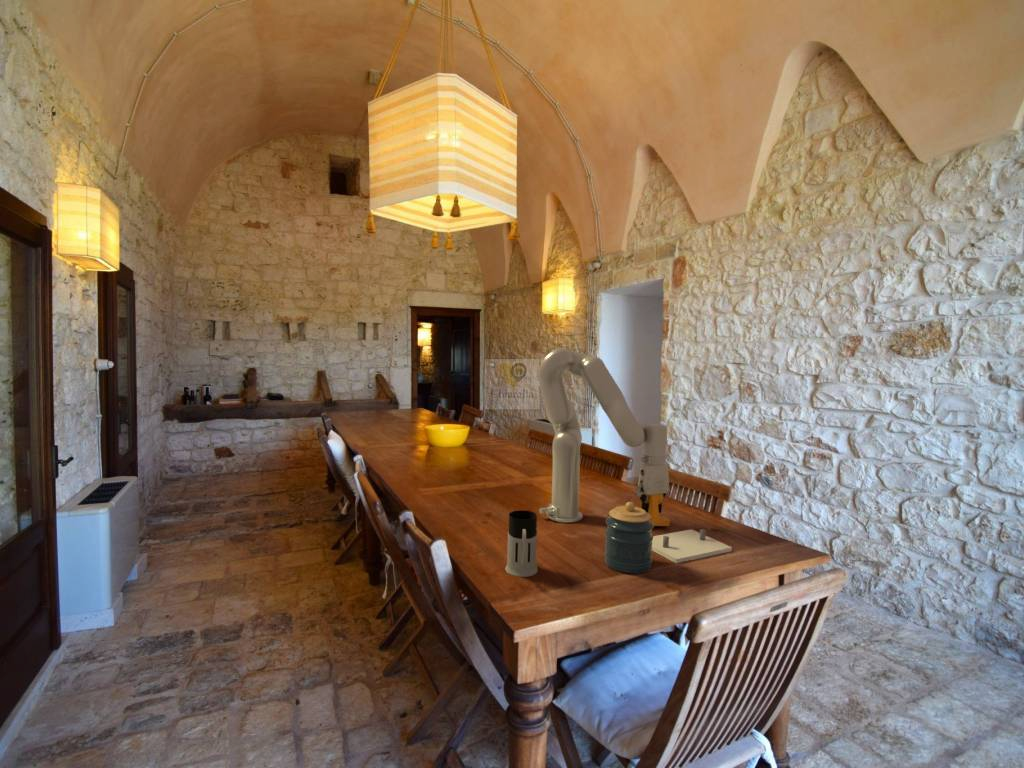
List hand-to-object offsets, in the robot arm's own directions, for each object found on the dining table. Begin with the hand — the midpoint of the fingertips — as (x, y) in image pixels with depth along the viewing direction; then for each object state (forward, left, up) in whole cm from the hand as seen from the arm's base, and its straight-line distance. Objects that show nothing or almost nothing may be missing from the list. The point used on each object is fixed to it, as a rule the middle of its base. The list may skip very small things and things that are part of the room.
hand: (651, 511), depth 168 cm
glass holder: (-58, -16, -5) cm, 60 cm away
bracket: (0, 0, -4) cm, 4 cm away
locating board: (-4, -19, -4) cm, 20 cm away
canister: (-28, -22, -5) cm, 36 cm away
